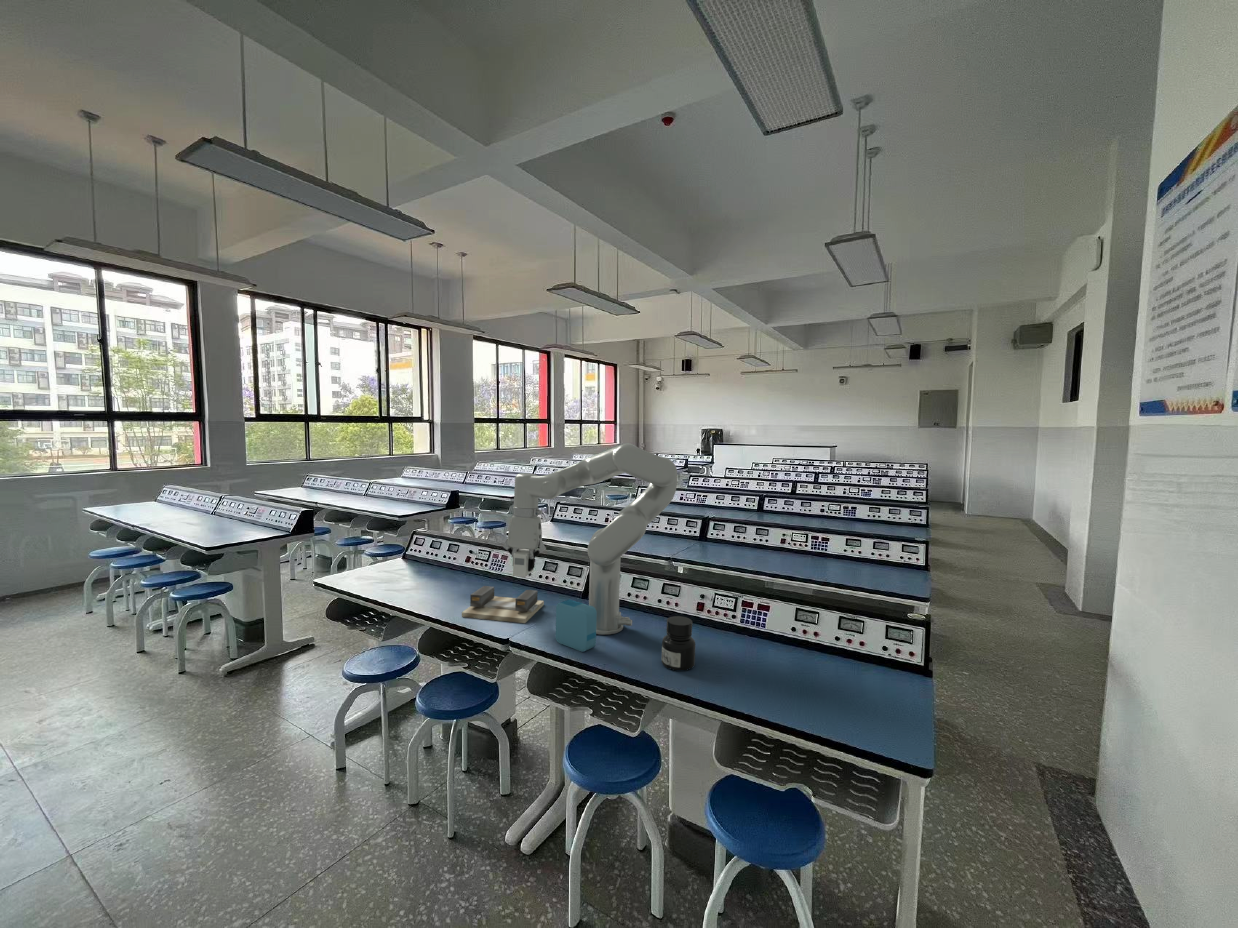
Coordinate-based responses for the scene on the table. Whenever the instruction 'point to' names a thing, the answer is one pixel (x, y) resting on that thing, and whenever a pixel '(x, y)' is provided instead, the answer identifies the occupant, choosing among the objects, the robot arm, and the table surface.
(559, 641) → the light blue flat block
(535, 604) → the rail board
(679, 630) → the ink bottle
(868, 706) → the table surface
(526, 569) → the block
